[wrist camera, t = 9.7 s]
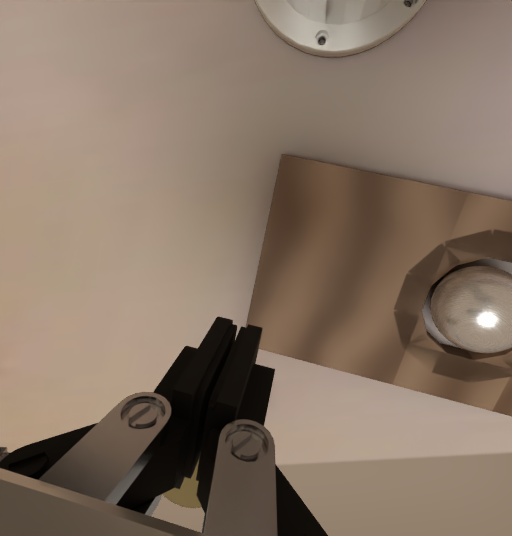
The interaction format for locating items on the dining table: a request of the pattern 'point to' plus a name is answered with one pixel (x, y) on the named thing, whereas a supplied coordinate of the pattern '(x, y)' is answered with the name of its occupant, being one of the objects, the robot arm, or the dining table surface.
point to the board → (376, 277)
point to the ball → (475, 309)
